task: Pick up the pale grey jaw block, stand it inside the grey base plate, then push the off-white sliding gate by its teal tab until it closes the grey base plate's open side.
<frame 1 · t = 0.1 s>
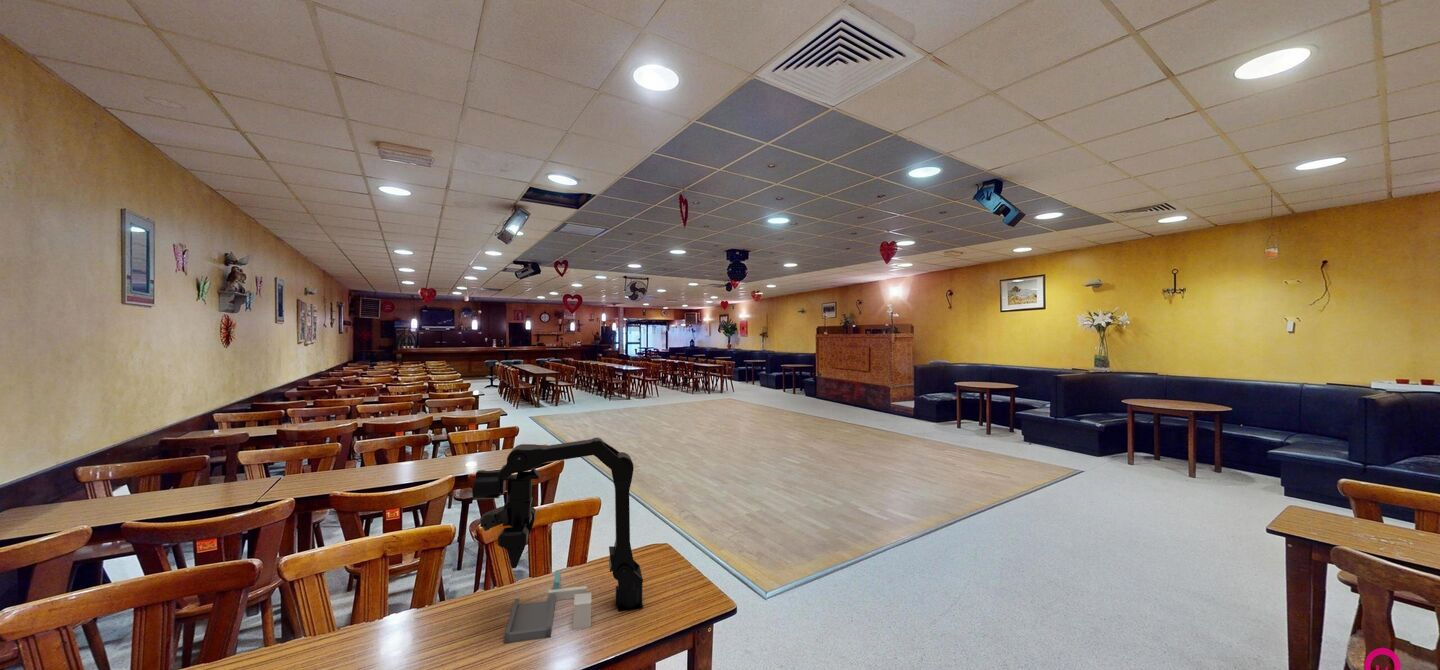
hand: (517, 559, 117), 14 cm above the table, tool pointing down, fingers open, 9 cm apart
gate: (568, 583, 129), point 2 cm above the table, slide at 8.0 cm
jaw block: (582, 623, 115), on the table
grey base plate: (531, 621, 115), on the table
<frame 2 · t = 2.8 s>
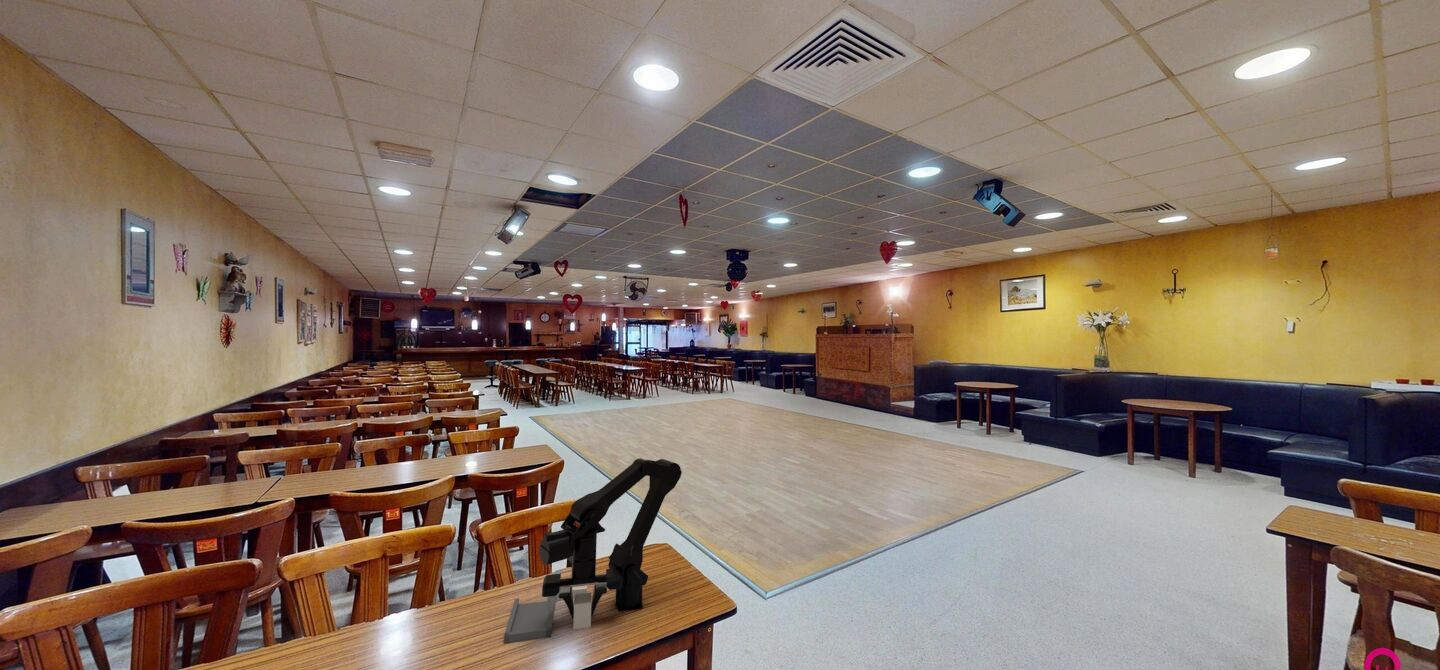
hand: (582, 616, 115), 2 cm above the table, tool pointing down, fingers closed on jaw block, 4 cm apart
jaw block: (582, 623, 115), on the table, touching gripper
everything else where it was.
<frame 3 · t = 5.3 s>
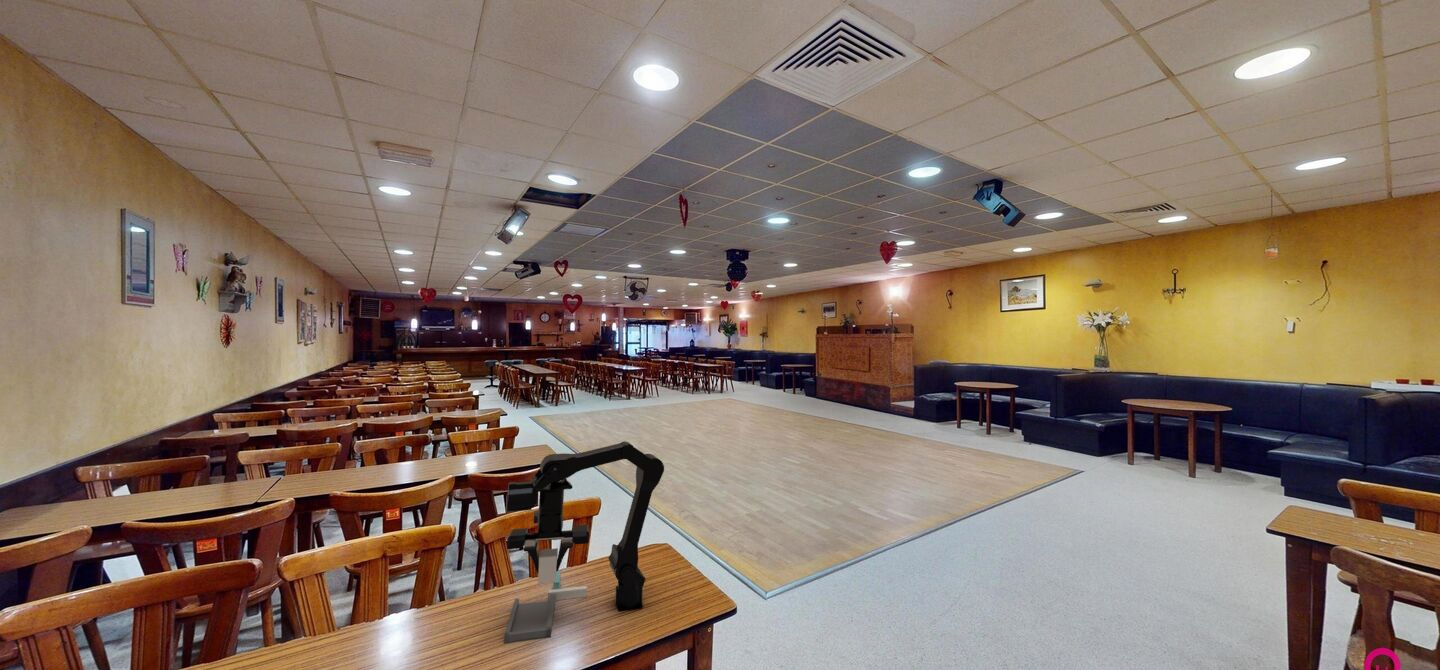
hand: (547, 571, 115), 12 cm above the table, tool pointing down, fingers closed on jaw block, 4 cm apart
jaw block: (547, 577, 115), point 11 cm above the table, touching gripper
everything else where it was.
when the fingers open (3 cm above the table, at t = 7.6 s): jaw block drops 1 cm, resting on grey base plate.
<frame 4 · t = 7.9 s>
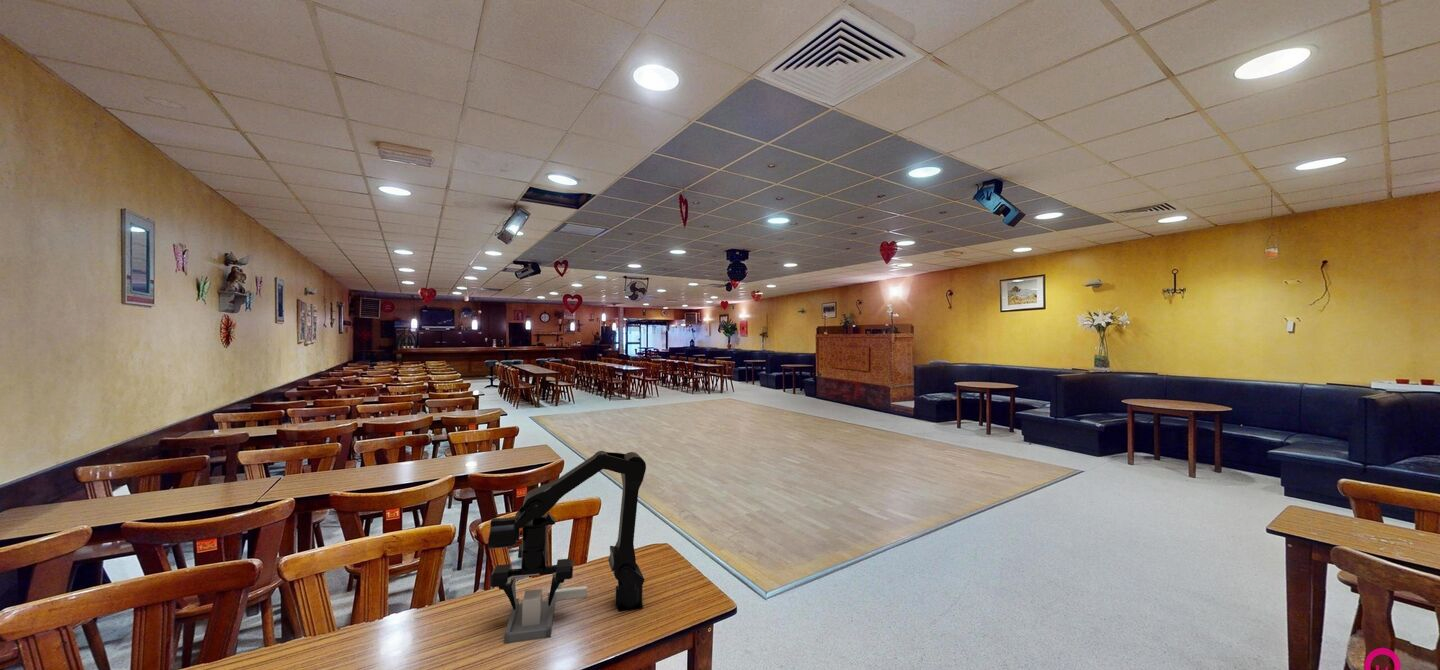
hand: (532, 607, 115), 3 cm above the table, tool pointing down, fingers open, 8 cm apart
jaw block: (531, 619, 115), resting on grey base plate
everything else where it was.
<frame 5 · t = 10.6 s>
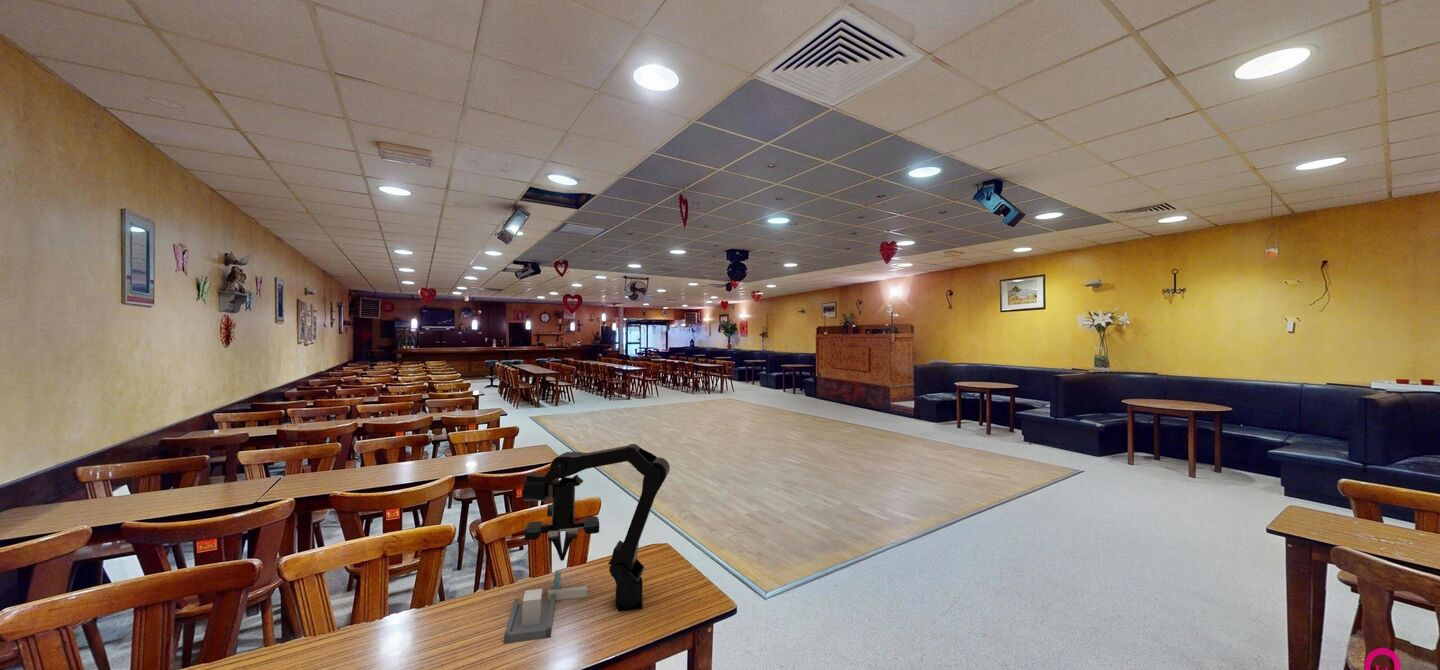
hand: (562, 560, 125), 11 cm above the table, tool pointing down, fingers closed
nothing on the table moved.
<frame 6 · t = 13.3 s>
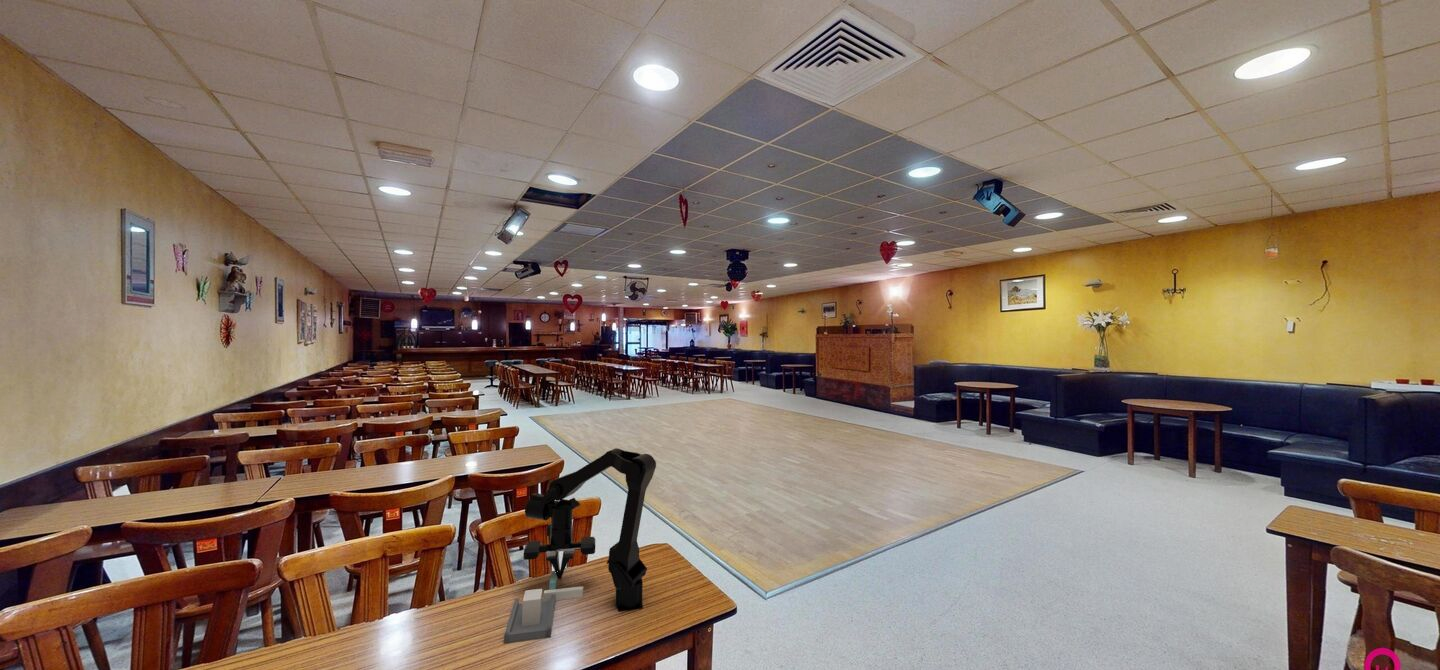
hand: (559, 578, 130), 3 cm above the table, tool pointing down, fingers closed
gate: (564, 584, 129), point 2 cm above the table, slide at 6.9 cm, touching gripper
everything else where it was.
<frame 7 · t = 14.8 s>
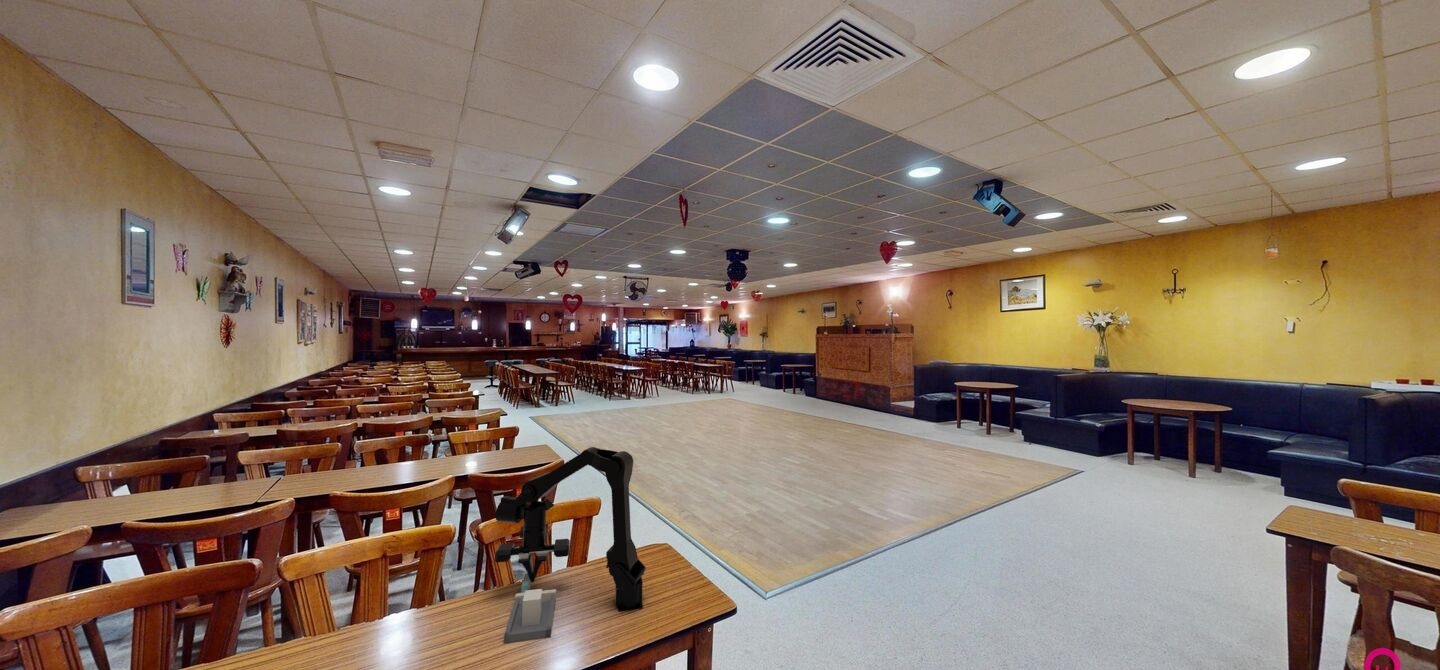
hand: (532, 581, 128), 3 cm above the table, tool pointing down, fingers closed
gate: (537, 587, 127), point 2 cm above the table, slide at 0.0 cm, touching gripper
everything else where it was.
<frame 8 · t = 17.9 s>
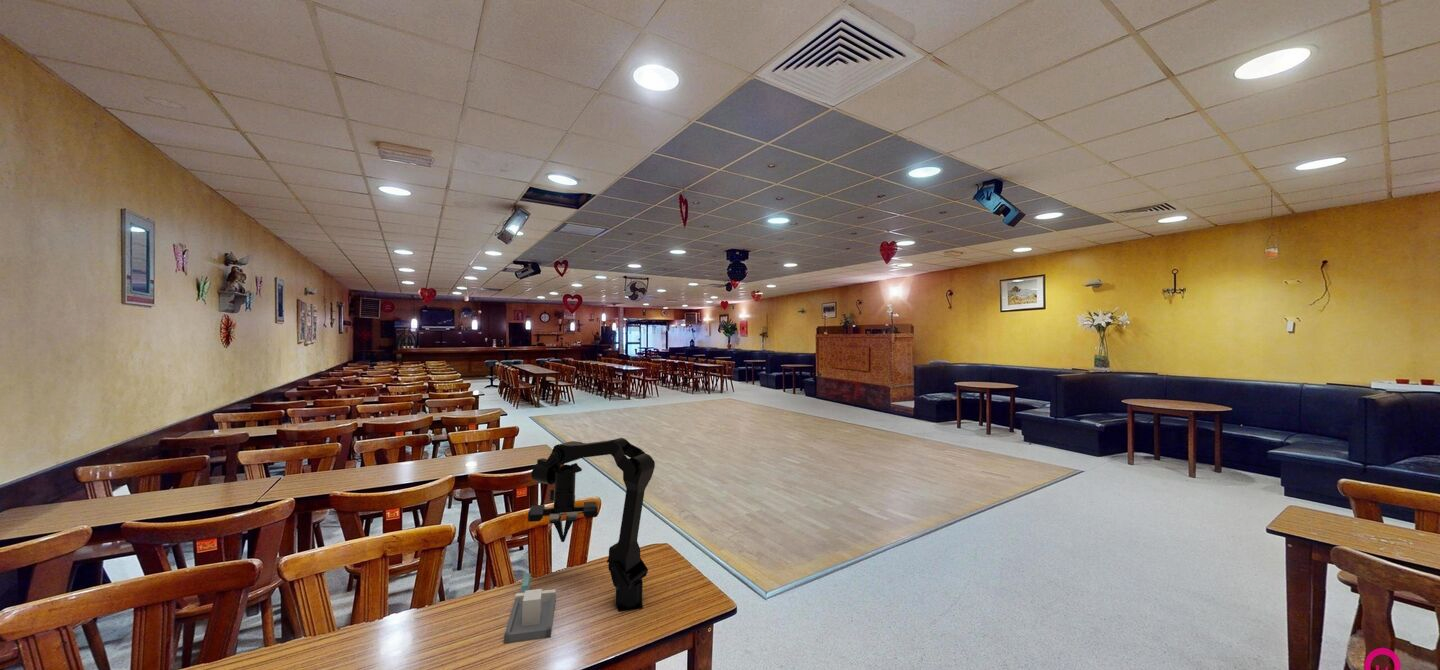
hand: (562, 541, 134), 12 cm above the table, tool pointing down, fingers closed
gate: (537, 587, 127), point 2 cm above the table, slide at 0.0 cm
everything else where it was.
at the end: jaw block 0.1 cm off-centre on the grey base plate, point 0.5 cm above the grey base plate's base; jaw block tilted 0°; gate slide at 0.0 cm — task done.
